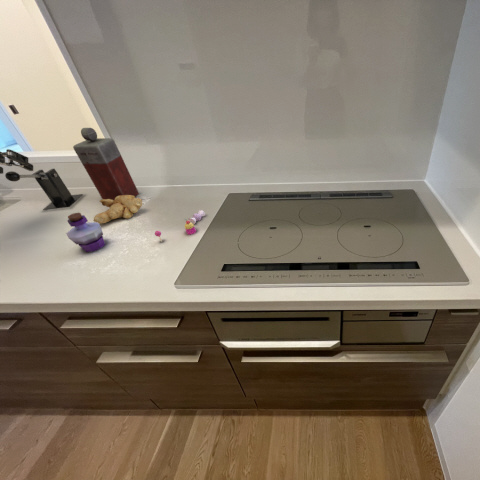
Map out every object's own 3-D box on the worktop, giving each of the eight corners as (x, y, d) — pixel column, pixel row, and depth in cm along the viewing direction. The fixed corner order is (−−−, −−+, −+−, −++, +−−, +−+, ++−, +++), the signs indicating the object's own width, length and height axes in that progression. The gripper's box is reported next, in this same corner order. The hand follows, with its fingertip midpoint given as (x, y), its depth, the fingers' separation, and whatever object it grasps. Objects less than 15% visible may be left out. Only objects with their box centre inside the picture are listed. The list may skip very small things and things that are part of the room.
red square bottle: (113, 194, 112) (75, 124, 95) (139, 194, 112) (106, 124, 95) (99, 205, 105) (56, 131, 88) (127, 204, 105) (89, 131, 88)
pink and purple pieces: (194, 215, 98) (189, 200, 94) (213, 218, 96) (208, 203, 92) (157, 243, 84) (150, 228, 80) (178, 248, 82) (171, 232, 79)
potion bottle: (82, 243, 85) (60, 211, 78) (113, 236, 88) (94, 205, 80) (75, 259, 78) (50, 226, 71) (109, 251, 81) (88, 218, 74)
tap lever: (16, 181, 85) (12, 170, 84) (4, 182, 84) (0, 171, 84) (55, 179, 101) (52, 171, 100) (46, 180, 101) (43, 171, 100)
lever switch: (71, 209, 103) (48, 175, 94) (44, 212, 101) (19, 178, 93) (84, 196, 111) (65, 164, 103) (60, 199, 110) (38, 167, 102)
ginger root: (147, 196, 107) (138, 180, 101) (150, 223, 98) (140, 207, 92) (103, 206, 103) (90, 190, 96) (101, 235, 94) (87, 219, 87)
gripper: (-10, 130, 73) (41, 157, 89) (-73, 134, 71) (-9, 161, 87) (-10, 155, 72) (42, 178, 88) (-74, 160, 70) (-9, 182, 86)
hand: (17, 169), depth 88 cm, fingers open, 8 cm apart
